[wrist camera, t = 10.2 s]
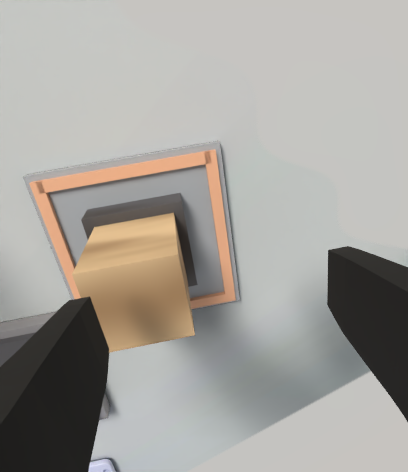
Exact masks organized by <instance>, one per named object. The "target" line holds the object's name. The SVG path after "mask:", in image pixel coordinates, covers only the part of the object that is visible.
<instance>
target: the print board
mask: <svg viewBox="0 0 408 472" xmlns="http://www.w3.org/2000/svg"><path fill="white" fill-rule="evenodd" d="M23 179H24V181H25V184H26V186H27V189H28V191H29V194H30V196H31V199H32V201H33V204H34V206H35V209H36V211H37V214H38V216H39V219H40V221H41V224H42V226H43V229H44V231H45V234H46V236H47V239H48V241H49V244H50V246H51V249H52V251H53V254H54V256H55V259H56V261H57V264H58V266H59V269H60V271H61V274H62V276H63V279H64V281H65V284H66V286H67V289H68V291H69V294H70V296H71V299H72V300H74V299H79V298H81V297H80V294H79V292H78V289H77V286H76V284H75V281H74V279H73V276H72V273H73V271H74V269H75V267H76V265H77V263H78V261H79V259H80V256H81V254H82V252H83V250H84V248H85V246H86V244H87V242H88V239H87V236H86V233H85V230H84V227H83V224H82V221H81V219H82V218H83V216H84V214H85V212H86V211H87V209H92V208H98V207H104V206H109V205H115V204H120V203H126V202H131V201H137V200H142V199H148V198H153V197H159V196H165V195H170V194H176V193H180V194H181V199H182V205H183V210H184V215H185V220H186V226H187V231H188V236H189V242H190V247H191V252H192V258H193V263H194V268H195V274H196V279H197V285H195V286H190V287H188V288H189V295H190V303H191V310H194V309H199V308H204V307H209V306H214V305H219V304H224V303H229V302H234V301H239V300H240V297H239V290H238V282H237V274H236V266H235V258H234V250H233V242H232V234H231V226H230V218H229V210H228V203H227V195H226V187H225V179H224V171H223V163H222V155H221V147H220V142H219V141H215V142H209V143H203V144H198V145H192V146H186V147H181V148H175V149H169V150H164V151H158V152H152V153H147V154H141V155H135V156H130V157H124V158H118V159H112V160H107V161H101V162H95V163H90V164H84V165H78V166H73V167H67V168H61V169H56V170H50V171H44V172H39V173H33V174H27V175H25V176H24V177H23Z"/></svg>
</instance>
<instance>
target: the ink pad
mask: <svg viewBox="0 0 408 472" xmlns="http://www.w3.org/2000/svg"><path fill="white" fill-rule="evenodd" d="M55 313H56V312H52V313H47V314H42V315H37V316H32V317H26V318H21V319H16V320H11V321H6V322H1V323H0V367H1V366H2V365H3V364H4V363H5V362H6V361H7V360H8V359H9V358H10V357H11V356H13V355H14V354H15V353H16V352H17V351H18V350H19V349H20V348H21V347H22V346H23V345H24V344H25V343H26V342H27V341H28V340H29V339H30V338H31V337H32V336H33V335H34V334H35V333H36V332H37V331H38V330H39V329H40V328H41V327H42V326H43V325H44V324H45V323H46V322H47V321H48V320H49V319H50V318H51V317H52V316H53V315H54V314H55ZM109 409H110V404H109V402H108V399H107V397H106V394H105V393H104V398H103V403H102V408H101V413H100V417H99V420H101V419H106V418H108V416H109Z"/></svg>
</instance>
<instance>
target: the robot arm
mask: <svg viewBox="0 0 408 472" xmlns="http://www.w3.org/2000/svg"><path fill="white" fill-rule="evenodd" d="M327 305H328V307H329V309H330V310H331V312H332V314H333V316H334V318H335V320H336V322H337V323H338V325H339V327H340V328H341V330H342V332H343V333H344V335H345V336H346V338H347V339H348V340H349V342H350V343H351V344H352V346H353V347H354V349H355V350H356V351H357V353H358V354H359V355H360V357H361V358H362V359H363V361H364V362H365V363H366V365H367V366H368V367H369V369H370V370H371V371H372V373H373V374H374V375H375V376H376V378H377V379H378V380H379V382H380V383H381V384H382V386H383V387H384V388H385V389H386V391H387V392H388V394H389V395H390V396H391V398H392V399H393V401H394V402H395V403H396V405H397V406H398V408H399V409H400V411H401V412H402V414H403V415H404V417H405V418H406V420H407V422H408V267H405V266H403V265H400V264H397V263H395V262H392V261H389V260H387V259H384V258H381V257H379V256H376V255H373V254H370V253H368V252H365V251H362V250H359V249H356V248H352V247H349V246H347V247H342V248H337V249H332V250H328V303H327ZM108 361H109V347H108V344H107V341H106V339H105V336H104V333H103V331H102V328H101V325H100V322H99V320H98V317H97V314H96V312H95V309H94V306H93V303H92V301H91V298H90V296H89V297H84V298H79V299H74V300H69V301H68V302H67V303H66V304H64V305H63V306H62V307H61V308H60V309H59V310H58V311H57V312H56V313H55V314H54V315H53V316H52V317H51V318H50V319H49V320H48V321H47V322H46V323H45V324H44V325H43V326H42V327H41V328H40V329H39V330H38V331H37V332H36V333H35V334H34V335H33V336H32V337H31V338H30V339H29V340H28V341H27V342H26V343H25V344H24V345H23V346H22V347H21V348H20V349H19V350H18V351H17V352H16V353H15V354H14V355H13V356H11V357H10V358H9V359H8V360H7V361H6V362H5V363H4V364H3V365H2V366H1V367H0V472H116V471H115V469H114V466H113V464H112V462H111V461H110V460H109V459H102V460H98V461H93V462H90V460H91V455H92V451H93V446H94V441H95V436H96V432H97V427H98V422H99V417H100V413H101V408H102V403H103V398H104V393H105V388H106V383H107V374H108Z"/></svg>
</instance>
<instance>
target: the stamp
mask: <svg viewBox="0 0 408 472" xmlns="http://www.w3.org/2000/svg"><path fill="white" fill-rule="evenodd" d="M81 221H82V224H83V227H84V230H85V233H86V236H87V239H88V242H87V244H86V246H85V248H84V250H83V252H82V254H81V256H80V259H79V261H78V263H77V265H76V267H75V269H74V271H73V273H72V276H73V279H74V281H75V284H76V286H77V289H78V292H79V294H80V297H81V298H84V297H89V296H90V298H91V301H92V303H93V306H94V309H95V312H96V314H97V317H98V320H99V322H100V325H101V328H102V331H103V333H104V336H105V339H106V341H107V344H108V347H109V352H114V351H119V350H124V349H129V348H134V347H139V346H144V345H149V344H154V343H159V342H164V341H169V340H174V339H179V338H184V337H188V336H193V335H195V332H194V325H193V317H192V310H191V303H190V295H189V288H188V287H190V286H195V285H197V279H196V274H195V268H194V263H193V258H192V252H191V247H190V242H189V236H188V231H187V226H186V220H185V215H184V210H183V205H182V199H181V194H180V193H176V194H170V195H165V196H159V197H153V198H148V199H142V200H137V201H131V202H126V203H120V204H115V205H109V206H104V207H98V208H92V209H87V211H86V212H85V214H84V216H83V218H82V219H81Z"/></svg>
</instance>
